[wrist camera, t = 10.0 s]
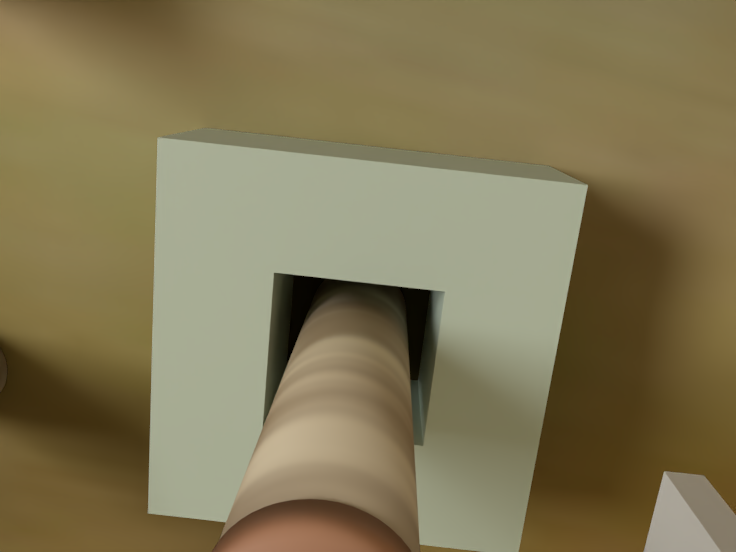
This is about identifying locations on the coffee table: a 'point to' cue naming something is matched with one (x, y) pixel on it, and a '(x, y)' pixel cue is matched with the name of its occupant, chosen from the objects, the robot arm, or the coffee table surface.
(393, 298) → the pin long
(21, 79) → the coffee table surface
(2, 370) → the pin medium
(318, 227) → the collar block
